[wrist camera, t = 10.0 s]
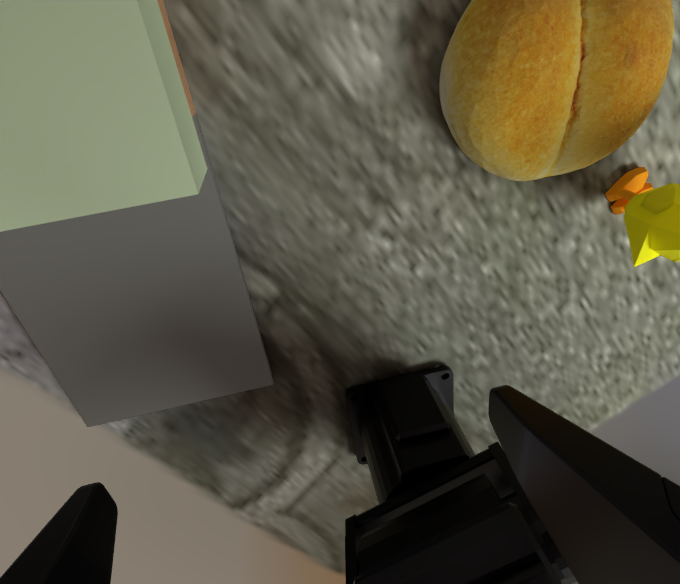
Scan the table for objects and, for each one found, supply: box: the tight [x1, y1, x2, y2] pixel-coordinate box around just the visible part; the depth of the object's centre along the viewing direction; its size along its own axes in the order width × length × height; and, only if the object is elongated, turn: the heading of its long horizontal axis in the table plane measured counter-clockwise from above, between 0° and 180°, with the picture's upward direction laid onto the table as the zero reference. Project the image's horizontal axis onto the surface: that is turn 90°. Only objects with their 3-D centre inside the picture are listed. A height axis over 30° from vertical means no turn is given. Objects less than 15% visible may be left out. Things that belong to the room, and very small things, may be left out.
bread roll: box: [439, 0, 674, 181], centre depth 17 cm, size 8×9×4 cm
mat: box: [0, 113, 274, 427], centre depth 20 cm, size 14×10×1 cm
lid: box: [0, 0, 207, 232], centre depth 11 cm, size 10×6×3 cm, turn 8°
